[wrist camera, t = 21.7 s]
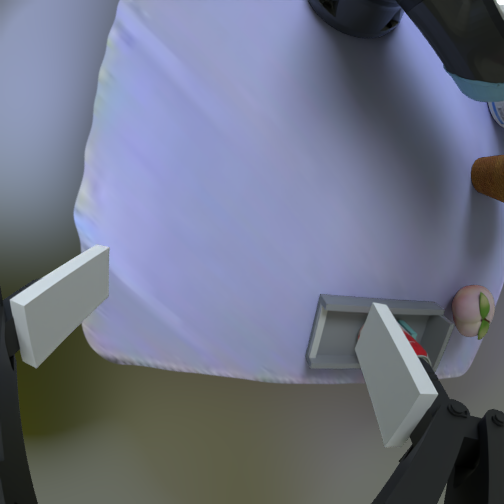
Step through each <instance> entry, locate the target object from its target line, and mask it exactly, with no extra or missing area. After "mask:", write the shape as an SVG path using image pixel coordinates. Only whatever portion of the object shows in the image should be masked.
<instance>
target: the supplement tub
mask: <svg viewBox="0 0 504 504" xmlns="http://www.w3.org/2000/svg"><path fill="white" fill-rule="evenodd" d="M488 105H489V109H490V111H491V114H492V116H493V118H494V119H495V121H496V122H497V123H498V124H499V125H500V126H501V127H503V128H504V101H501V102H488Z"/></svg>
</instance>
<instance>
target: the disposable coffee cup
mask: <svg viewBox="0 0 504 504" xmlns="http://www.w3.org/2000/svg"><path fill="white" fill-rule="evenodd" d="M471 179H472V183H473V186H474V188H475V189H476V190H477V191H478V192H479V193H482V194H484V195H487V196H489V197H492V198H494V199H496V200H499V201H501V202H504V155H498V156H490V157H482V158H478V159H477V160H476V161H475V162H474V164H473V166H472V170H471Z"/></svg>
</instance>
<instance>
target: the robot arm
mask: <svg viewBox="0 0 504 504" xmlns="http://www.w3.org/2000/svg"><path fill="white" fill-rule="evenodd" d="M309 2H310V4H311V6H312V8H313V9H314V10H315V12H316V13H317V14H318V15H319V16H320V17H321V18H322V19H323V20H324V21H325V22H326V23H328V24H329V25H331V26H332V27H334V28H335V29H337V30H339V31H341V32H343V33H346V34H348V35H351V36H355V37H360V38H376V37H380V36H383V35H385V34H387V33H388V32H390V31H391V30H392V29H394V28H395V27H396V26H397V25H398V23H399V22H400V20H401V18H402V16H403V13H404V11H405V13H406V14H407V15H408V16H409V18H410V19H411V20H412V21H413V23H414V24H415V25H416V26H417V28H418V29H419V30H420V32H421V33H422V34H423V36H424V37H425V38H426V40H427V41H428V42H429V44H430V45H431V47H432V48H433V49H434V51H435V52H436V54H437V55H438V57H439V58H440V60H441V61H442V63H443V64H444V65H443V66H444V69H445V71H446V72H447V73H448V74H449V75H450V76H451V77H452V78H453V80H454V81H455V83H456V84H457V86H458V88H459V89H460V91H461V92H462V93H463V94H465V95H466V96H468V97H469V98H470V99H473V100H476V101H480V102H501V101H504V0H309ZM108 296H109V247H106V246H101V245H95V246H93V247H92V248H90V249H88V250H87V251H85V252H83V253H82V254H80V255H78V256H77V257H75V258H73V259H72V260H70V261H68V262H67V263H65V264H64V265H62V266H60V267H59V268H57V269H56V270H54V271H52V272H51V273H49V274H48V275H46V276H45V277H42V278H39V279H36V280H33V281H31V282H30V283H28V284H27V285H25V287H22V288H20V289H19V291H18V290H17V291H16V292H14V293H13V294H11V295H10V296H8V297H7V298H6V299H4V300H2V295H1V288H0V504H38V502H37V499H36V495H35V492H34V488H33V484H32V479H31V475H30V471H29V466H28V461H27V456H26V451H25V445H24V439H23V433H22V426H21V419H20V410H19V400H18V387H17V371H16V359H15V355H14V354H15V353H16V352H17V351H18V350H19V349H20V352H21V356H22V360H23V361H24V362H26V363H27V364H29V365H31V366H33V367H36V368H37V367H38V366H39V365H40V364H41V363H42V362H43V361H44V360H45V359H46V358H47V357H48V356H49V355H50V354H51V352H53V351H54V350H55V348H57V346H58V345H59V344H60V343H61V342H62V341H63V340H64V339H65V338H66V337H67V336H68V335H69V334H70V333H71V332H72V331H73V330H74V329H75V328H76V327H77V326H78V325H79V324H80V323H82V322H83V321H84V320H85V319H86V318H87V317H88V316H89V315H90V314H91V313H92V312H93V311H94V310H95V309H96V308H97V307H98V306H99V305H100V304H101V303H102V302H103V301H104V300H105V299H106V298H107V297H108ZM355 351H356V354H357V357H358V360H359V363H360V367H361V370H362V373H363V376H364V379H365V382H366V385H367V389H368V392H369V395H370V398H371V401H372V405H373V408H374V412H375V415H376V418H377V422H378V425H379V429H380V433H381V436H382V440H383V443H384V447H402V446H403V445H404V443H405V442H406V441H407V440H408V438H409V437H410V438H411V441H412V445H411V447H410V448H409V449H408V450H407V452H406V453H405V454H404V455H403V457H402V458H401V459H400V460H399V462H400V463H399V465H398V466H397V468H396V470H395V471H394V473H393V474H392V476H391V477H390V479H389V480H388V481H387V483H386V484H385V486H384V487H383V489H382V490H381V492H380V493H379V494H378V495H377V497H376V498H375V499H374V501H373V502H372V503H371V504H437V503H438V501H439V498H440V496H441V494H442V492H443V490H444V487H445V485H446V483H447V488H446V494H445V500H444V504H504V413H503V412H501V411H498V410H494V409H492V410H488V411H487V412H486V414H485V415H484V417H483V418H478V417H474V416H470V413H469V410H468V409H467V408H466V406H465V405H463V404H462V403H461V402H459V401H456V400H454V399H449V397H448V395H447V394H446V392H445V390H444V388H443V386H442V385H441V383H440V381H438V378H437V376H436V374H435V372H434V371H433V369H432V367H431V366H430V364H428V363H427V362H426V361H425V360H424V359H423V358H419V357H417V355H416V353H415V351H414V350H413V348H412V346H411V345H410V343H409V341H408V339H407V338H406V336H405V334H404V333H403V331H402V329H401V328H400V326H399V324H398V323H397V321H396V320H395V318H394V316H393V315H392V313H391V311H390V310H389V308H388V307H387V305H385V304H379V303H374V302H373V303H372V305H371V308H370V311H369V314H368V316H367V319H366V322H365V324H364V327H363V329H362V332H361V334H360V337H359V339H358V342H357V344H356V347H355Z"/></svg>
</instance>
